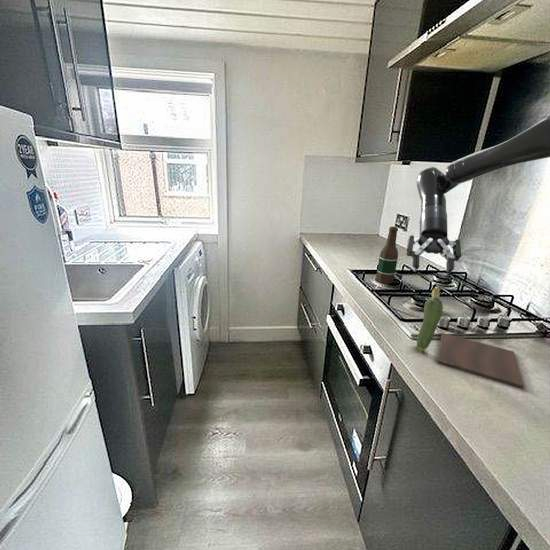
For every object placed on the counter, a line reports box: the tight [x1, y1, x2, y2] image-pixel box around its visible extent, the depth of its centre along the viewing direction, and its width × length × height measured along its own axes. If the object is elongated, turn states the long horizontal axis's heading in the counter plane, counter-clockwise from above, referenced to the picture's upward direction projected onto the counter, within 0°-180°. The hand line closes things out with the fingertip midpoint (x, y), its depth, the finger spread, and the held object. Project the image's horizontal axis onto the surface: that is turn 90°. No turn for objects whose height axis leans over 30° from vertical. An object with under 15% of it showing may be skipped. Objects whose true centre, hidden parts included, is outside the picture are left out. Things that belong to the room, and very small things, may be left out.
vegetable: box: [415, 285, 444, 352], centre depth 81 cm, size 4×4×20 cm
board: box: [437, 332, 524, 389], centre depth 82 cm, size 18×16×1 cm
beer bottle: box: [375, 226, 399, 285], centre depth 128 cm, size 8×8×24 cm
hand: (432, 270), depth 87 cm, fingers open, 8 cm apart
